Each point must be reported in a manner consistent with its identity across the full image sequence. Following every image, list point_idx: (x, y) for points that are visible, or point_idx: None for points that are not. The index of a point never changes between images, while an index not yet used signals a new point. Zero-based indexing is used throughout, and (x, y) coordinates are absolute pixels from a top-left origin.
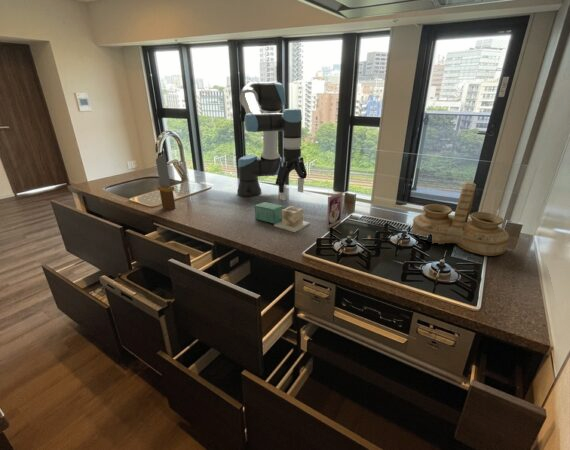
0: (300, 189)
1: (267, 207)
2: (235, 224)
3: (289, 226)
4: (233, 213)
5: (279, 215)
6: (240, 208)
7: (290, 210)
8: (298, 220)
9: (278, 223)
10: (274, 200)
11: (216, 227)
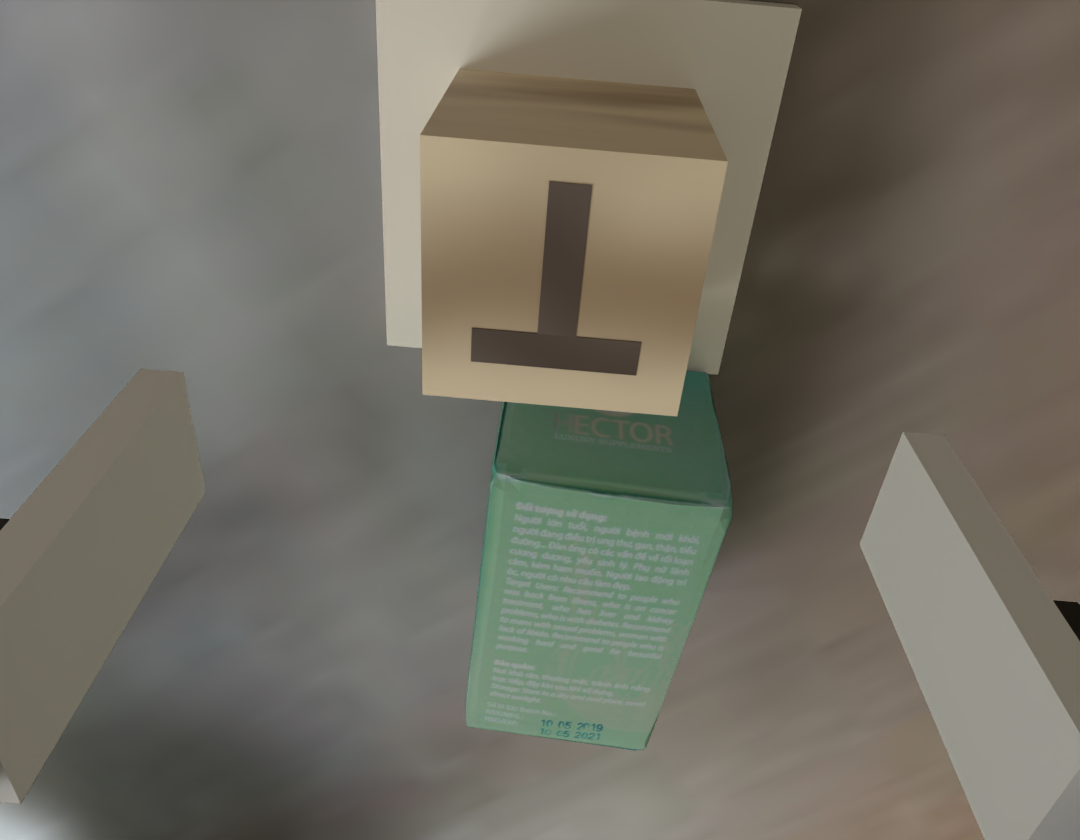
0: (163, 466)
1: (674, 613)
2: (845, 670)
3: None
4: (609, 793)
5: None
6: (470, 808)
7: (625, 291)
8: (577, 98)
9: None
10: None
11: None
